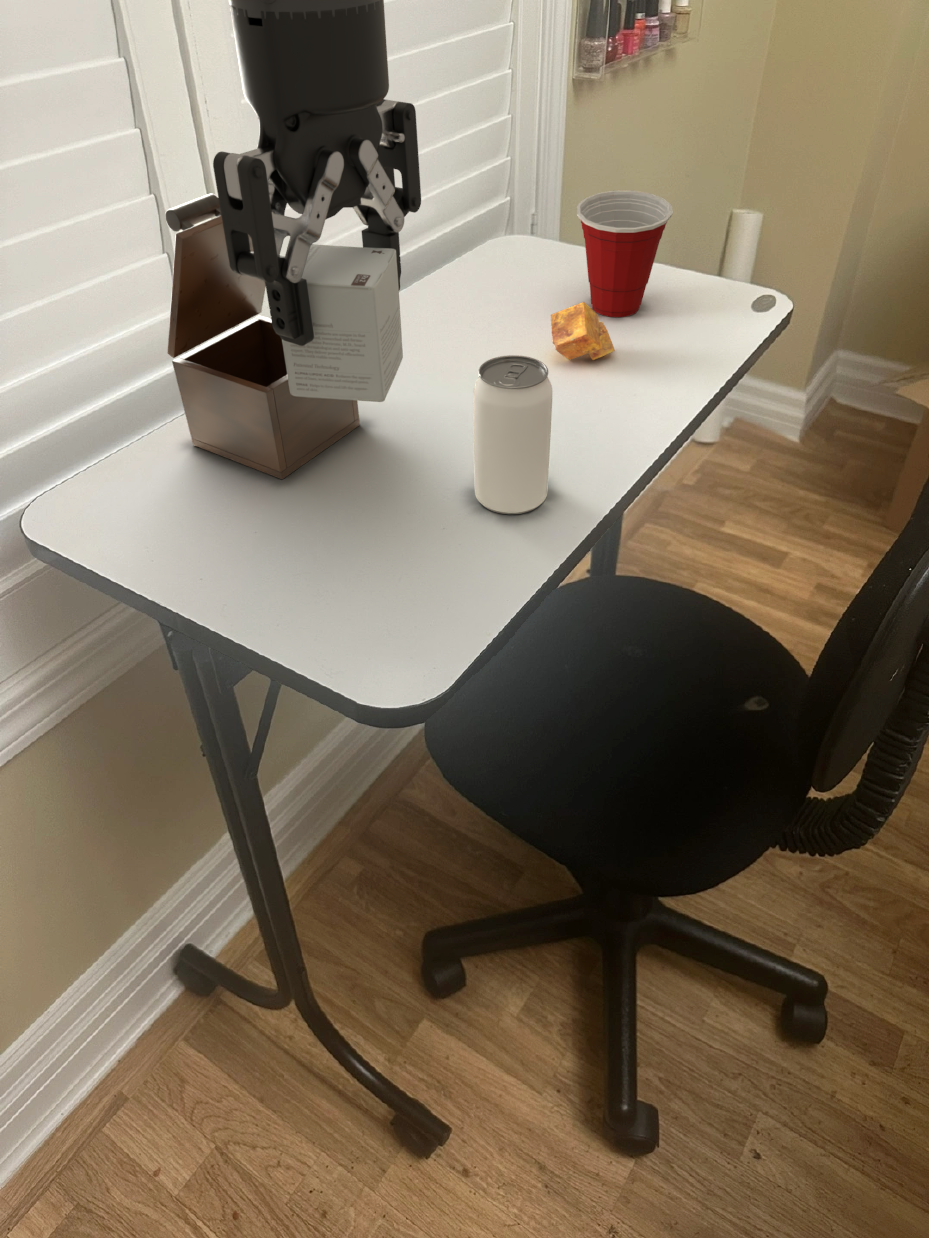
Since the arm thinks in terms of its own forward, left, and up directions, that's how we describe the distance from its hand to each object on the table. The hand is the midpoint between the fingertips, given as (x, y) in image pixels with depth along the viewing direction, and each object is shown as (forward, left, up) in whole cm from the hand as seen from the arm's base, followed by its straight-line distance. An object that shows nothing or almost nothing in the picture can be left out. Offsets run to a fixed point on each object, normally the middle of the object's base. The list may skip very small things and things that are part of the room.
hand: (341, 315), depth 55 cm
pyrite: (+31, +33, -23) cm, 51 cm away
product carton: (0, 0, -4) cm, 4 cm away
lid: (-6, +30, -8) cm, 31 cm away
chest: (-4, +28, -23) cm, 36 cm away
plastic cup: (+40, +44, -23) cm, 64 cm away
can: (+15, +10, -23) cm, 29 cm away
